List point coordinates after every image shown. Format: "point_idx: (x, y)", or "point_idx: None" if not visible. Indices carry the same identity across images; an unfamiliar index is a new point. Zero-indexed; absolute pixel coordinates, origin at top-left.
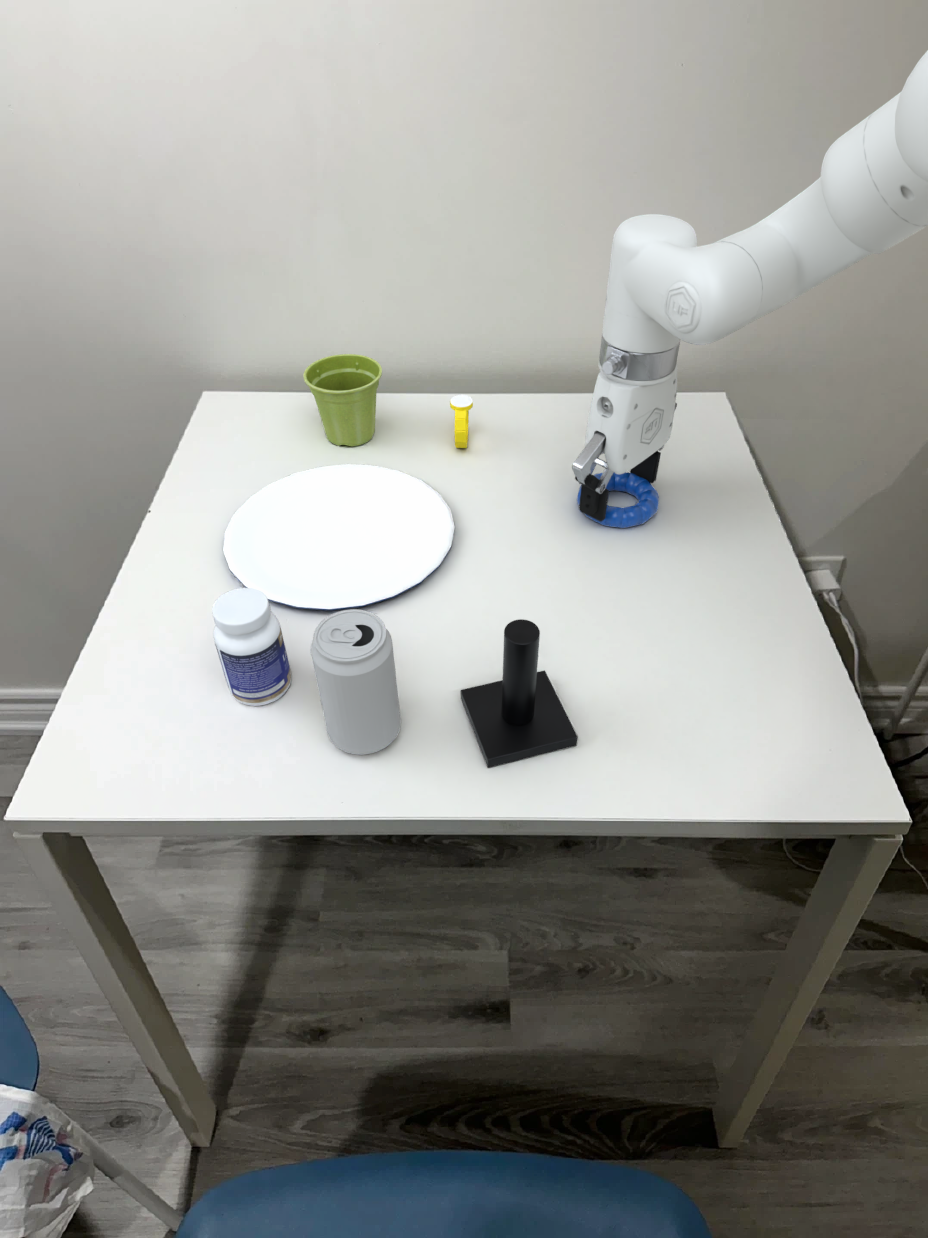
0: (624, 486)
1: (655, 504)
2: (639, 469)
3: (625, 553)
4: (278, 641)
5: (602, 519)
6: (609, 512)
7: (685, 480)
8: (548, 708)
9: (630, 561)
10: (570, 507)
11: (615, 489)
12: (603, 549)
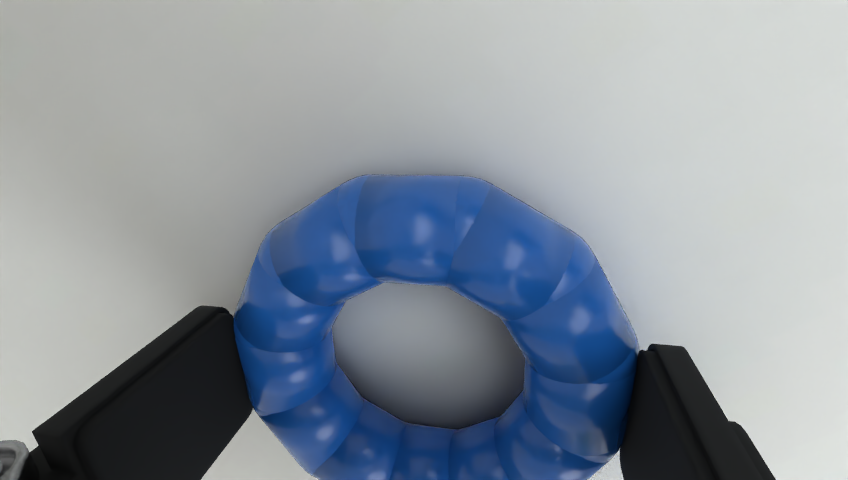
0: (333, 384)
1: (350, 201)
2: (218, 404)
3: (752, 109)
4: None
5: (684, 352)
6: (612, 354)
7: (87, 219)
8: None
9: (818, 36)
10: None
11: (359, 396)
12: (785, 222)
